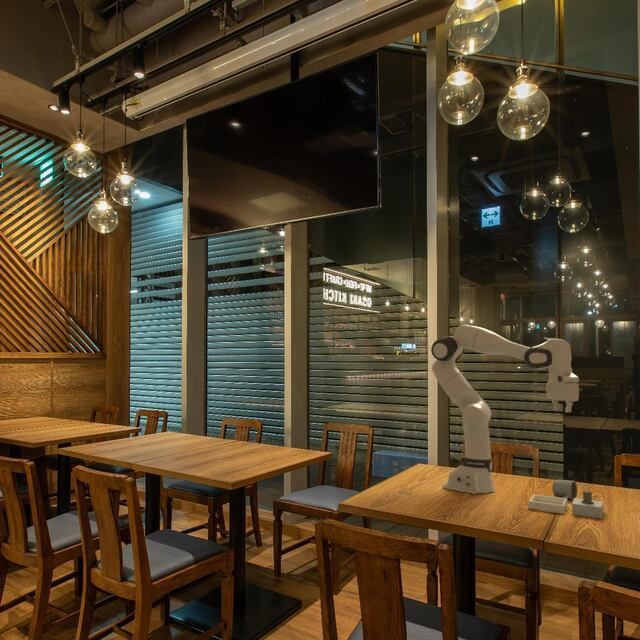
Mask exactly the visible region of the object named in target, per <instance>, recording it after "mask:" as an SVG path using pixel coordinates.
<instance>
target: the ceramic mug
mask: <svg viewBox="0 0 640 640" xmlns="http://www.w3.org/2000/svg"><path fill="white" fill-rule="evenodd" d="M552 493H553V497H559V498H560V497H561V498H566V499H567V500H570V501H571V500H572V501H573V500H574V498H578V484H577V483H576V481H575V480H567V479H555V480H554V481H553V482H552Z"/></svg>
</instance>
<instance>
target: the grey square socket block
mask: <svg viewBox="0 0 640 640" xmlns="http://www.w3.org/2000/svg"><path fill="white" fill-rule="evenodd" d="M571 509H572V510H571V511H572V515H574V516H580V517H582V516H583V517H586V518H587V517H588V518H594V519H600V520H602V519H603V518H604V517H603V515H604V501H602V500H601V501H600V500H596V499H595V500H594V499H592V504H585V503H583V498H578V497H576V498H574V500H572V502H571Z"/></svg>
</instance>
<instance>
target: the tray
mask: <svg viewBox="0 0 640 640" xmlns="http://www.w3.org/2000/svg"><path fill="white" fill-rule="evenodd" d="M568 506H569V505H568V499H566V498H560V497H557V496H556V497H554V496H551V495H550V496H549V495H542V494H535V493H534V494H533V495H532V496H531V497H530V498H529V500H528V509H529V510H532V511H533V510H534V511H541V512H547V513H556V514H561V515H564V514H565V513H566V511H567V508H568Z"/></svg>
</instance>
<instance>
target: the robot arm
mask: <svg viewBox="0 0 640 640" xmlns="http://www.w3.org/2000/svg"><path fill="white" fill-rule="evenodd" d="M465 349H467V350H470V351H473V352H475V353H479V354H485V355H501V356H502V355H503V356H509V357H512V358H516V359H519V360H523V361H524V363H525V365H526V366H527V367H529V368H530V369H532V370H540V371H546V370H548V380H547V382H546V388H545V389H546V390H545V391H546V392H545V394H546V398H547V399H549V400H550V399H551V402H552V403H551V404H552V405H553V410H554V411H560V407H561V406H560V405H559V401H565V404H566V406H565V408H564V411H565V413H571V412H572V406H573V405H574V404H573V402H578V401H579V397H580V388H579V382H580V378H579V376H577V374H575V373H573V368H572V359H573V358H572V351H571V344H570V343H569V342H568V341H567V340H565V339H561V338H549V339H548V340H546V341H545V342H543V343H541V344H539V345H535V346H532V347H530V346H526V345H523V344H519V343H517V342H512V341H511V340H509V339H506V338H504V337H503V336H501V335H499V334H497V333H495V332H494V331H491V330H488V329H486V328H483V327H480V326H475V325H472V324H471V325H470V324H461V325H459V326H458V327H456V329H455V331H454V333H453V335H448V336H443V337H440V338H438V339H436V340H435V341H433V343H432V345H431V349H430V350H431V354H432V357H433V358H434V359H435V360H436V361H434V362H433V364H432V367H431V371H432V372H433V373H432V374H433V375H434V377H435V379H436V380H437V382H438V383H439V385H440V386H441V387H442V389H443V391H444V392H445V393H446V394H447V396H448V397H449V398H450V400H451V401H452V402H453V403H454V404H455V405H456V406H457V407H458V409H459V410H461V412H462V415H461V417H462V429H463V434H464V455H463V456H461V458H460V459H459V462H460V465H458V466H457V467H456V468H455V469H453V470H452V471H450V472H449V475H448V478H447V481H446V482H444V483H443V484H442V485H443V486H442V488H443V489H445V490H450V491H451V490H452V491H455V490H456V492H462V493H466V492H467V494H471V493H472V495H478V494H489V493H490V492H491V493H493V492H495V490H496V489H495V487H494V482H493V476H492V470H493V462H492V461H493V460H492V458H491V438H490V431H489V422H490V420H491V418H492V410H491V408H490V406H489V405H488V404H487V403H486V402H485V400H484V399H483V398H482V396H480V394H479V393H478V392H476V390H475V389H474V388H473V386H472V385H471V384H470V383H469V381H468V380H467V379H466V377H464V374H462V373H461V371H460V370H459V368H458V367H457V365H456V362H457V361H459V359H460V358H461V356H462V355H463V354H464V352H465ZM477 493H478V494H477Z"/></svg>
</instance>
